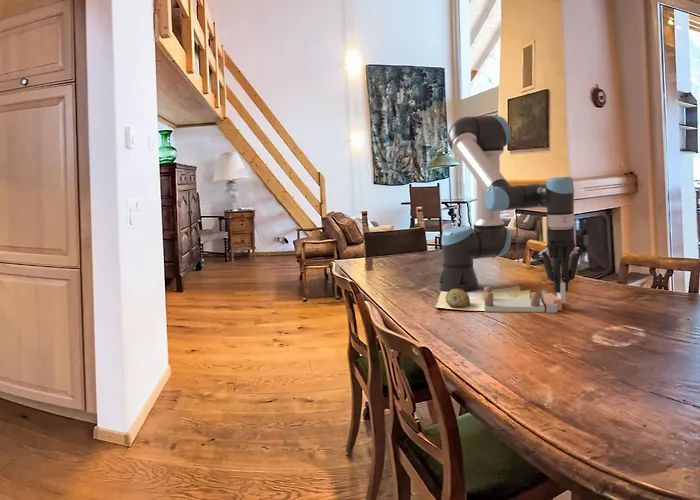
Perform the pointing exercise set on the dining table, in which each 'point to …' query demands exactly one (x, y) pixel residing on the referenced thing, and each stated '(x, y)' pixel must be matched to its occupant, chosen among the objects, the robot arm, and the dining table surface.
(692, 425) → the dining table surface
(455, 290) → the seashell
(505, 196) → the robot arm
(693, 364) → the dining table surface
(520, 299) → the pale board with pegs
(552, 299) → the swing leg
